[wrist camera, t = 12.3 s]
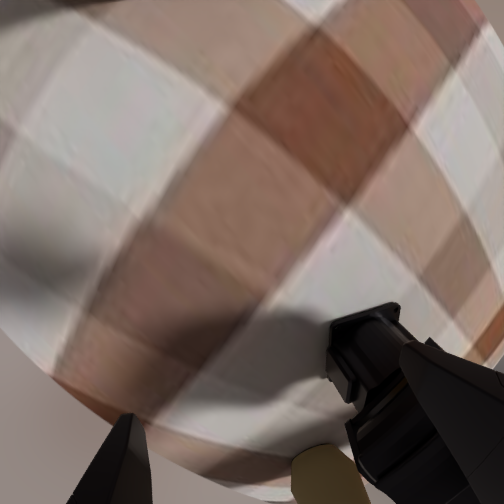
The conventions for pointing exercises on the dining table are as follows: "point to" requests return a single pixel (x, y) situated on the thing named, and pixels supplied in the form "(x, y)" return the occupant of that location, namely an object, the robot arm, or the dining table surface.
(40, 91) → the dining table surface
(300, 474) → the squeeze bottle
